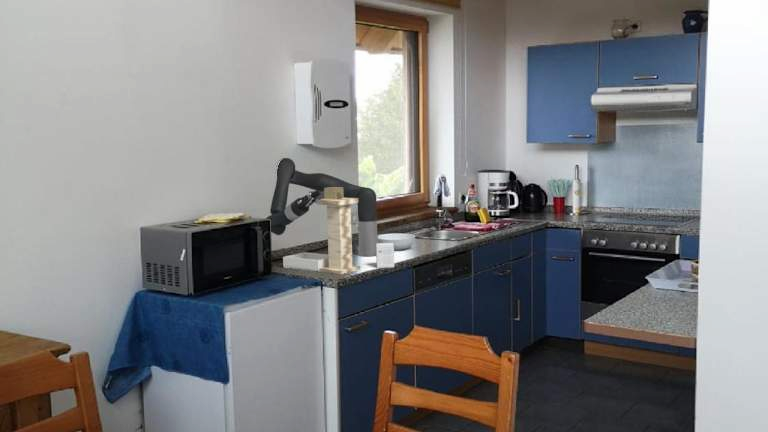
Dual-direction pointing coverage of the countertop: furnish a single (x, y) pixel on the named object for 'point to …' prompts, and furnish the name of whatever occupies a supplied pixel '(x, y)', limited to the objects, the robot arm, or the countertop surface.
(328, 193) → the strut
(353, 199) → the birch pedestal
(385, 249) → the small box
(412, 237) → the serving bowl
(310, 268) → the grey tray
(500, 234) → the countertop surface
